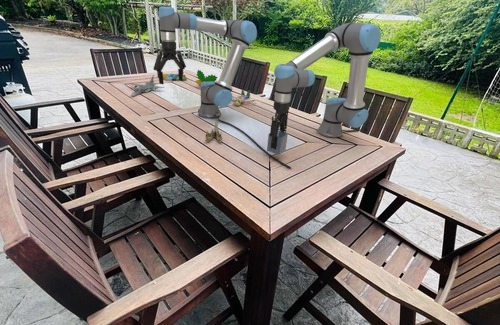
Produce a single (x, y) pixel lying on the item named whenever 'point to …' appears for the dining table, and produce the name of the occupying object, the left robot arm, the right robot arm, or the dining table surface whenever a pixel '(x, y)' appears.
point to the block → (278, 143)
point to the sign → (172, 77)
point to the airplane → (145, 87)
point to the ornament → (203, 79)
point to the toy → (242, 99)
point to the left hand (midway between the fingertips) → (171, 82)
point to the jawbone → (214, 134)
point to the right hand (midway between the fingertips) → (276, 145)
